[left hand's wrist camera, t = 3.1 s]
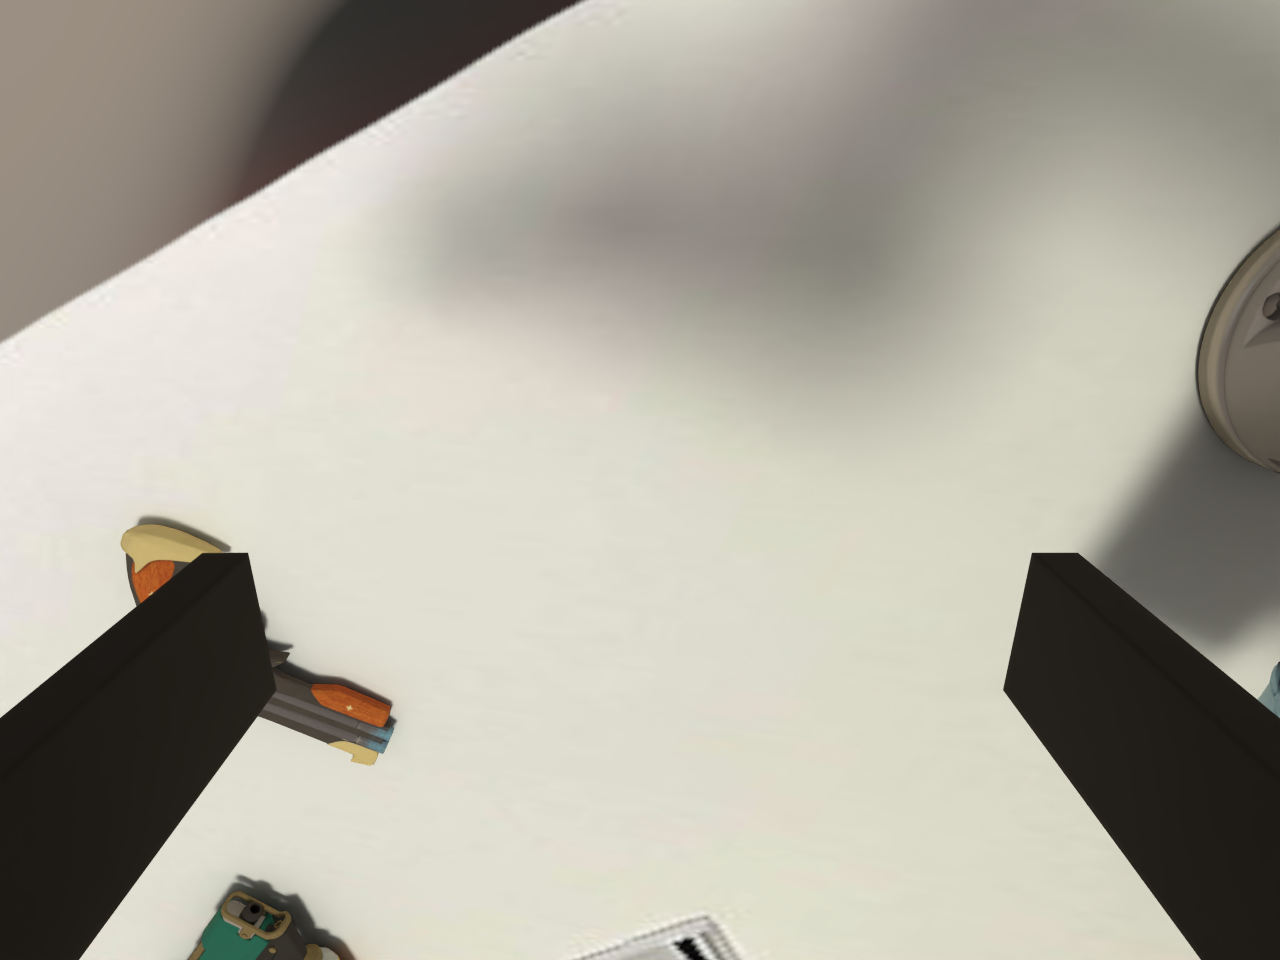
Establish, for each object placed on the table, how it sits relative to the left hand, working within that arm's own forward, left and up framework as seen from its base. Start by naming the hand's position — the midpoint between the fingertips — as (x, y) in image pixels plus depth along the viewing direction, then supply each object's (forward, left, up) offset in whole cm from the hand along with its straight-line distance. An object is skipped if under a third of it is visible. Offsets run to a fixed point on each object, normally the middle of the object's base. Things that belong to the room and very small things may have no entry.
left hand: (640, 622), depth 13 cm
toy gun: (+30, +7, -29) cm, 42 cm away
